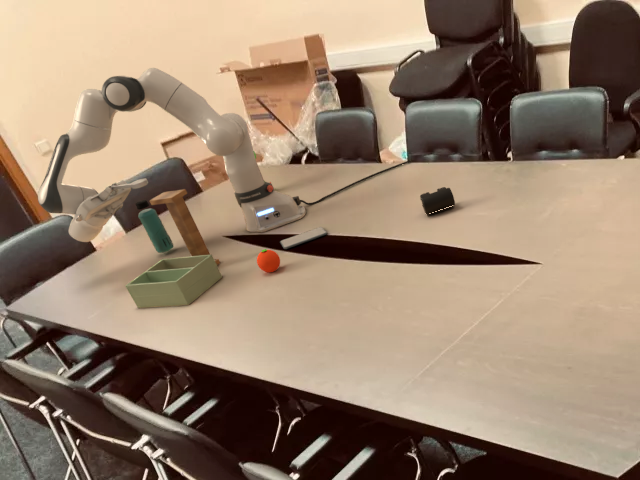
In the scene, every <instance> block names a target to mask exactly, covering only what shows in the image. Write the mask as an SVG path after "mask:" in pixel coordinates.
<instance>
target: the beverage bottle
mask: <svg viewBox="0 0 640 480" xmlns="http://www.w3.org/2000/svg"><path fill="white" fill-rule="evenodd" d="M149 206H150V204H149V202H148V201H147V199H143V200H139V201H138V202H136V203H135V207H136V209H137V210H138V211H139V210H140V212H139V213H138V219H139V221H140V223H141V224H142V227H143V229H144V230H145V232H146V235H147V237H148V239H150V242H151V244H152V246H153V248H154V249H155V251H156V252H157V253H158V254H162V253H166V252H169V251H170V250H172V249H173V248H174V247H175V246H174V243H173V240H172V239H171V237H170V235H169V233H168V231H167V230H166V228H165V225H164V223H163V222H162V219H161V218H160V216H159V214H158V213H157V210H156V209H155V208H151V207H150V208H148V207H149Z"/></svg>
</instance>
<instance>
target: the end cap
mask: <svg viewBox="0 0 640 480" xmlns="http://www.w3.org/2000/svg"><path fill="white" fill-rule="evenodd" d="M436 190H437V191H434V192H431V193H430V192H427V191H426V192H424V193H421V194H420V196H419V199H420V201H421V205H422V208H423V211H424V214H425V213H426V214H427V215H426V214H425V215H426V216H427V217H429V216H433V215H436V214H438V213H441V212H445V211H447V210H450V209H453V208H454V207H455V206H456V201H455V197H454V194H453V191H452V189H451V188H450V187H445V186H443V187H439V188H437V189H436ZM452 205H455V206H452ZM449 206H452V207H449ZM446 207H449V208H446ZM444 208H446V209H444ZM440 209H443V210H440ZM438 210H440V211H438ZM435 211H437V212H435ZM432 212H434V213H432ZM429 213H431V214H429Z"/></svg>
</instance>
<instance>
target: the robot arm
mask: <svg viewBox="0 0 640 480" xmlns="http://www.w3.org/2000/svg"><path fill="white" fill-rule="evenodd" d="M207 101H208V100H206V99H205V97H204V96H202V95H200V94H199V93H198V92H196V91H195V90H193V89H192V88H191V87H189V86H187V85H186V84H184V83H183V82H182V81H180V80H179V79H177V78H176V77H174V76H172V75H170V74H169V73H167V72H165V71H164V70H161V69H159V68H156V67H149V68H147V69H146V70H144V71H143V72H142V74H141V75H140V76H139V77H138V78H136V77H135V78H134V77H132V76H127V75H113V76H110V77H108V78H107V79H106V80H105V81H103V84H102V86H101V89H97V88H86V89H83V90H82V91H81V92H80V93H79V95H78V98H77V102H76V106H75V110H74V114H73V119H72V124H71V127H70V128H69V130H68V131H67V132H66V133H64V134H61V135H60V136H59V138H58V139H57V140H56V143H55V147H54V148H53V152H52V154H51V158H50V161H49V164H48V167H47V170H46V174H45V176H44V179H43V181H42V182H41V185H40V187H39V189H38V192H37V202H38V204H39V205H40V207H41V208H42V209H44V211H46V212H47V213H48V214H65V215H74V216H73V218H72V220H71V221H70V224H69V227H68V234H69V236H70V237H71V238H72V239H74V240H76V241H78V242H82V243H89V242H92V241H93V240H95V239H96V238H97V237H98V235H100V233H101V232H102V230H103V228H104V226H106V225H107V223H108V222H109V221H110V219H112V217H113V216H114V214H116V213H117V212H118V211H119V210H120V209H122V208H123V206H124V202H125V201H126V199H127V198H128V196H129V195H130V193H131V191H132V187H131V188H124V189H117V190H114V189H113V188H112V187H111V186H116V185H123V184H128V182H126V180H120V181H119V182H114V183H112V184H111V185H108V186H106V187H105V188H104V189H103V190H102V191H100V192H98V190H96V189H95V188H93V187H88V186H81V185H73V184H66V183H63V181H64V177H65V174H66V171H67V168H68V165H69V163H70V161H71V160H72V159H74V158H75V157H78V156H81V155H86V154H92V153H97V152H100V151H101V150H103V149H105V148H106V147H107V146H108V145H109V143H110V140H111V136H112V129H113V122H114V117H115V115H116V114H117V113H118V112H123V113H124V112H125V113H133V112H135V111H139V110H142V108H144V107H145V106H146V104H147V103H152V104H154V105H156V106H157V107H158V108H160V109H162V110H163V111H164V112H166V113H167V114H169V115H170V116H172V117H173V118H175V119H176V120H178V121H179V122H181V123H182V124H183V125H184V126H186V127H187V128H188V129H190V130H191V131H192V132H193V133H194V135H196V136H197V137H198V138H199V139H200V140H201V141H202V142H203V143H204V144H205V146H206V148H207V149H208V151H210V152H211V153H212V154H214V155H216V156H219V157H222V158H223V163H224V167H225V173H226V175H227V178H228V179H229V183H230V184H231V186H232V188H233V190H234V193H233V194H234V197H235V199H236V201H237V204H238V206H239V207H240V208H241V211H242V215H243V218H244V222H245V227H246V228H245V229H246V231H247V232H251V233H253V232H255V233H256V232H258V233H265V232H269V231H270V230H273V229H277V228H279V227H281V226H284V225H287V224H289V223H293V222H295V221H298V220H301V219H302V218H304V216H305V215H306V213H307V210H306V208H305V206H303V205H301V204H302V203H303V204H304V205H306V206H312V205H315V204H319V203H321V202H322V201H324V200H326V199H328V198H331V197H332V196H334V195H337V194H338V193H340V192H342V191H344V190H346V189H348V188H350V187H353V186H355V185H357V184H359V183H362V182H364V181H366V180H368V179H371V178H373V177H376V176H378V175H380V174H383V173H385V172H388V171H390V170H393V169H396V168H398V167H401V166H403V165H402V164H404V165H406V164H410V163H411V162H412V160H410V159H409V160H406V161H403V162H401V163H399V164H396V165H393V166H390V167H388V168H385V169H382V170H380V171H377V172H375V173H373V174H370V175H368V176H365V177H363V178H361V179H359V180H356V181H354V182H352V183H350V184H348V185H345V186H344V187H341V188H339V189H337V190H336V191H334V192H331V193H329V194H327V195H325V196H323V197H321V198H319V199H318V200H315V201H313V202H307V201H305V200H304V199H300V197H299V195H296V196H291V195H289V194H286V193H283V192H280V191H277V190H275V189H274V186H273V184H272V182H271V181H269V182H268V181H266V180H265V179H264V177H263V174H262V172H261V169H260V167H259V165H258V162H257V157H256V158H255V155H254V152H255V150H254V147H253V143H252V139H251V136H250V134H249V128H248V124H247V122H246V120H245V119H244V117H242V116H241V115H240V114H238V113H235V112H226V113H223V114H219V113H218V112H217V111H216V110H215V109H214V108H213V107H212V106H211V105H210V104H209V103H208V102H207Z"/></svg>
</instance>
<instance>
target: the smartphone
mask: <svg viewBox="0 0 640 480" xmlns="http://www.w3.org/2000/svg"><path fill="white" fill-rule="evenodd" d="M326 235H328V232H327V230H325V229H324V227H323V226H318V227H316V228H312V229H310V230H307V231H305V232H302V233H298V234H295V235H293V236H290V237H287V238H285V239H282V240H280V241H279V243H280V245H281V247H282V248H283V249H284V250H288V249H290V248H293V247H296V246H299V245H301V244H305V243H308V242H310V241H312V240H316V239H318V238H321V237H324V236H326Z"/></svg>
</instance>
